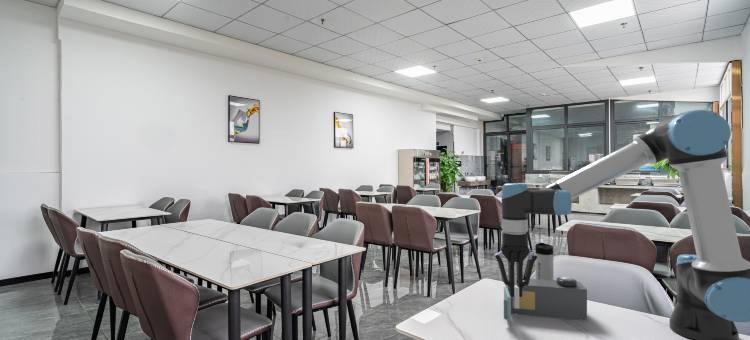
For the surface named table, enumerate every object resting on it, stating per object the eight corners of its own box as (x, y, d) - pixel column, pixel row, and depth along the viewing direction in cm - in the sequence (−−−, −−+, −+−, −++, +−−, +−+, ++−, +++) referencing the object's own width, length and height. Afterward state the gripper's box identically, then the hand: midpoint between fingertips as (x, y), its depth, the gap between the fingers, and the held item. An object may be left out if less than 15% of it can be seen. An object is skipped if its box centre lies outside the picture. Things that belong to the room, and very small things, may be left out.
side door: (500, 310, 122) (500, 286, 122) (507, 310, 122) (507, 287, 122) (504, 322, 112) (504, 297, 112) (511, 323, 112) (510, 297, 112)
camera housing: (579, 310, 124) (579, 275, 123) (587, 320, 116) (586, 283, 116) (505, 304, 130) (505, 271, 130) (508, 313, 122) (507, 277, 122)
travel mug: (549, 293, 140) (549, 242, 140) (556, 299, 134) (556, 246, 134) (532, 293, 141) (532, 242, 141) (538, 299, 134) (538, 246, 134)
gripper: (532, 230, 116) (533, 302, 116) (491, 230, 118) (492, 301, 118) (540, 234, 109) (541, 312, 109) (496, 234, 110) (497, 311, 110)
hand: (515, 306), depth 113 cm, fingers closed
